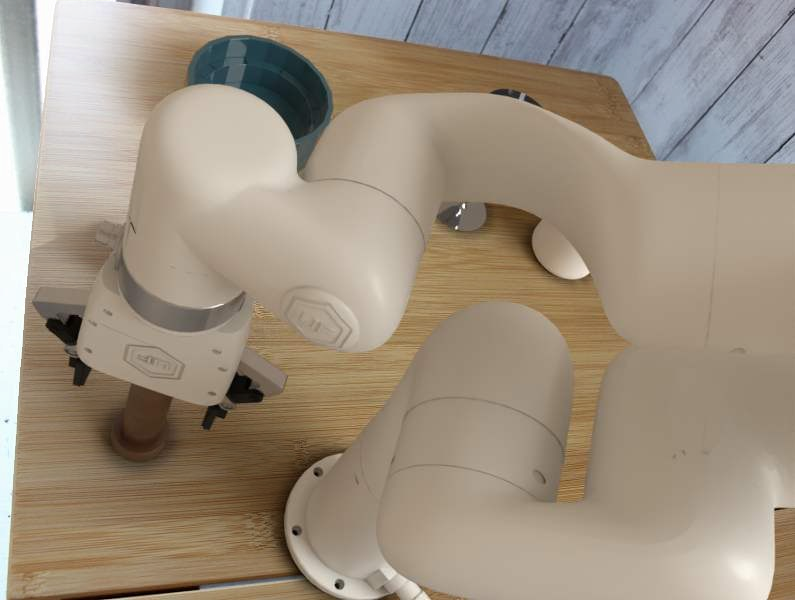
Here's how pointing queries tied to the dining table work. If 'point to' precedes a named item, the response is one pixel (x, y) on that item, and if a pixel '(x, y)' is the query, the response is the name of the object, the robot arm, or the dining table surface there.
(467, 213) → the wine glass
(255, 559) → the dining table surface
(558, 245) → the cup
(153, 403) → the pestle
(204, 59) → the bowl
